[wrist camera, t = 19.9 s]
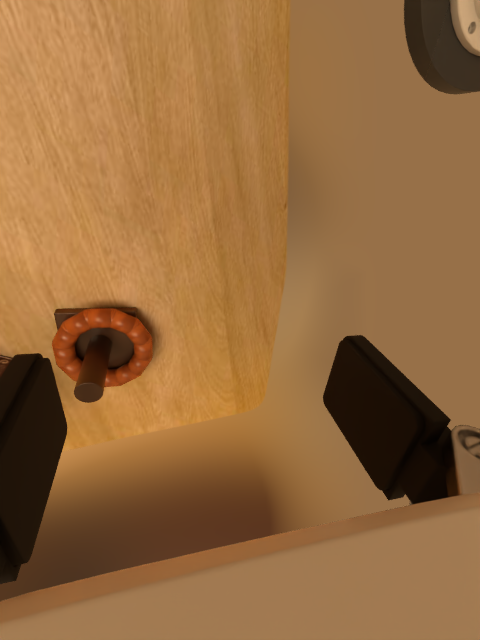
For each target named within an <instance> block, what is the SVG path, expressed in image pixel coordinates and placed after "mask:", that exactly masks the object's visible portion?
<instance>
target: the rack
mask: <svg viewBox="0 0 480 640" xmlns="http://www.w3.org/2000/svg"><path fill="white" fill-rule="evenodd" d="M94 309H107V308H94ZM113 309H117V310H119V311H122V312H124V313H126V314H128V315H131V316H133V317H135V318H137V313H136V308H113ZM84 310H86V309H56V311H55V313H54V315H55V320H56V325H57V330H59V328H60V326H61V324H62V323H63V322H64V321H65V320H67V319H68V318H70V317H72V316H74V315H76V314H78V313H80V312H82V311H84ZM75 351H76V356H77V357H78V358H79V359H80V360H81V361H83V363H82V366H81V370H80V373H79V376H78V380H77V383H76V387H75V390H74V395H75V397H76V398H77V399H78V400H80V401H82V402H88V403H89V402H95V401H97V400H99V399H100V398H101V397H102V395H103V391H104V386H105V380H106V375H107V369H117V368H119V367H121V366H123V365H125V364H127V363H129V361H130V360H131V358H132V356H133V355H134V343H133V342H132V341H131V340H130V339H129V337H128V336H127V335H126V334H125V333H123V332H120V331H118V330H115V329H113V328H92V329H90V330H88V331H86V332H85V333H83V334H81V335H80V336H79V337H78V339H77V341H76V343H75Z"/></svg>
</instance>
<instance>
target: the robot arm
mask: <svg viewBox="0 0 480 640" xmlns="http://www.w3.org/2000/svg"><path fill="white" fill-rule="evenodd" d="M450 10H451V17H452V23H453V27H454V30H455V33H456V36H457V38H458V39H459V41H460V43H461V44H462V46H463V47H464V48H465V49H467V50H468V51H469V52H470V53H472V54H474V55H477V56H480V0H450ZM323 401H324V404H325V406H326V408H327V409H328V411H329V413H330V414H331V416H332V417H333V419H334V421H335V422H336V424H337V425H338V427H339V429H340V430H341V432H342V433H343V435H344V436H345V438H346V440H347V441H348V443H349V444H350V446H351V448H352V449H353V451H354V452H355V454H356V456H357V457H358V459H359V460H360V462H361V463H362V465H363V467H364V468H365V470H366V471H367V473H368V474H369V476H370V478H371V479H372V481H373V482H374V484H375V486H376V487H377V488H378V489H379V490H382V491H383V493H384V494H385V496H386V497H387V499H388V500H392V499H397V498H401V497H403V496H404V495H405V494H406V495H407V497H408V498H409V500H410V505H408V506H404V507H399V508H395V509H390V510H385V511H381V512H376V513H372V514H367V515H362V516H358V517H354V518H349V519H344V520H340V521H335V522H331V523H326V524H322V525H317V526H313V527H308V528H304V529H299V530H295V531H291V532H286V533H281V534H277V535H273V536H268V537H263V538H259V539H255V540H250V541H246V542H241V543H237V544H232V545H228V546H224V547H219V548H215V549H210V550H206V551H202V552H197V553H193V554H189V555H184V556H180V557H176V558H171V559H167V560H163V561H158V562H154V563H150V564H146V565H141V566H136V567H133V568H128V569H124V570H119V571H115V572H111V573H107V574H103V575H99V576H94V577H91V578H87V579H82V580H79V581H75V582H70V583H66V584H62V585H58V586H54V587H50V588H46V589H42V590H38V591H34V592H30V593H27V594H23V595H20V596H16V597H13V598H10V599H6V600H3V601H0V640H480V429H478V428H476V427H472V426H468V425H459V426H455V427H454V428H453V429H452V431H451V430H450V429H449V428H448V427H447V425H448V423H449V422H450V419H449V418H448V417H447V416H446V415H445V414H444V413H443V412H442V411H441V410H440V409H439V408H438V407H437V406H436V405H435V404H434V403H433V402H432V401H431V400H430V399H428V398H427V396H425V395H424V394H423V393H422V392H421V391H420V390H419V389H418V388H417V387H416V386H415V385H414V384H413V383H412V382H411V381H410V380H409V379H408V378H407V377H406V376H404V374H403V373H401V371H399V370H398V369H397V368H396V367H395V366H394V365H393V364H392V363H391V362H390V361H389V360H388V359H387V358H386V357H385V356H384V355H383V354H382V353H381V352H380V351H378V349H377V348H375V347H374V346H373V345H372V344H371V343H370V342H369V341H368V340H367V339H366V338H365V337H363V336H361V335H359V336H358V335H357V336H346V337H345V338H344V339H343V340H342V341H341V342H340V343H339V346H338V349H337V353H336V356H335V360H334V362H333V366H332V369H331V372H330V375H329V379H328V382H327V385H326V388H325V392H324V395H323ZM66 435H67V422H66V419H65V415H64V411H63V407H62V403H61V400H60V396H59V392H58V388H57V385H56V381H55V377H54V373H53V370H52V366H51V362H50V360H49V358H43V357H42V355H41V354H39V353H37V354H20V355H15V356H14V357H13V359H12V360H11V362H10V363H9V365H8V366H7V368H6V370H5V371H4V373H3V374H2V376H1V377H0V584H2V583H7V582H12V581H16V579H17V576H18V573H19V569H20V566H21V564H23V563H27V562H28V561H29V559H30V557H31V554H32V551H33V548H34V545H35V541H36V538H37V534H38V531H39V527H40V524H41V521H42V517H43V513H44V510H45V507H46V504H47V500H48V497H49V493H50V490H51V486H52V483H53V479H54V476H55V473H56V469H57V466H58V462H59V459H60V456H61V452H62V449H63V445H64V442H65V439H66Z"/></svg>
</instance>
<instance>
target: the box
mask: <svg viewBox="0 0 480 640" xmlns="http://www.w3.org/2000/svg"><path fill="white" fill-rule="evenodd" d="M11 360H12V359H11V358H9V357H3V356H0V377H1V376H2V374H3V373H4V371H5V370H6V368H7V366H8V365H9V363H10V362H11Z"/></svg>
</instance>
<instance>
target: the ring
mask: <svg viewBox="0 0 480 640" xmlns="http://www.w3.org/2000/svg"><path fill="white" fill-rule="evenodd" d="M92 328H113V329H115V330H118V331H120V332H123V333H125V334H126V335H127V336H128V337H129V339H130V340H131V341H132V342H133V343H134V355H133V356H132V358H131V360H130V361H129V363H127V364H125V365H123V366H121V367H119V368H117V369H107V375H106V380H105V386H104V387H112V386H121V385H123V384H125V383H127V382H129V381H131V380H133V379H135V378H137V377H139V376H140V375H141V374H142V373H143V371H144V370H145V368H146V367H147V365H148V364H149V362H150V361H151V359H152V357H153V351H152V337H151V335H150V334H149V332H148V331H147V330H146V328H145V327H144V326H143V325H142V323H141V322H140V321H139V320H138V319H137V318H135V317H133V316H131V315H128V314H126V313H124V312H122V311H119V310H117V309H113V308H107V309H86V310H84V311H82V312H80V313H78V314H76V315H74V316H72V317H70V318H68V319H67V320H65V321H64V322H63V323H62V324H61V326H60V328H59V330H58V332H57V334H56V335H55V337H54V339H53V341H52V347H53V351H54V356H55V360H56V364H57V365H58V367H59V368H61V369H62V370H63V371H64V372H65V373H66V374H67V375H68V376H69V377H70V378H72V379H73V380H74V381H77V380H78V376H79V373H80V370H81V366H82V363H83V361H81V360H80V359H79V358H78V357H77V356H76V351H75V343H76V341H77V339H78V337H79V336H80V335H81V334H83V333H85V332H86V331H88V330H90V329H92Z"/></svg>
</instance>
